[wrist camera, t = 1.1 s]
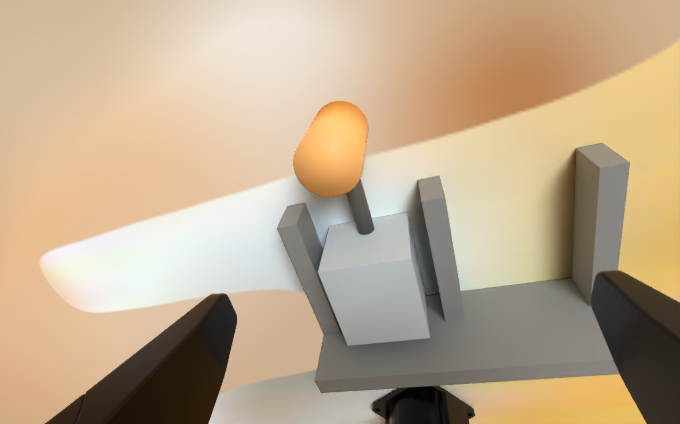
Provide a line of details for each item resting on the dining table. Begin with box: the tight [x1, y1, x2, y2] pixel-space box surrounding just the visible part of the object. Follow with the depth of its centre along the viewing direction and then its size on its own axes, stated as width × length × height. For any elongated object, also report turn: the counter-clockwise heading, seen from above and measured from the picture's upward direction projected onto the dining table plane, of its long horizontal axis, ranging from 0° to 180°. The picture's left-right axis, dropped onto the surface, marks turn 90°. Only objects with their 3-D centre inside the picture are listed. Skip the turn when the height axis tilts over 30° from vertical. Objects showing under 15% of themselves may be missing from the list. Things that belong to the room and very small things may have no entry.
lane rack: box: [277, 143, 630, 393], centre depth 20 cm, size 10×18×6 cm, turn 106°
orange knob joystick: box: [293, 101, 430, 346], centre depth 20 cm, size 14×5×5 cm, turn 16°
